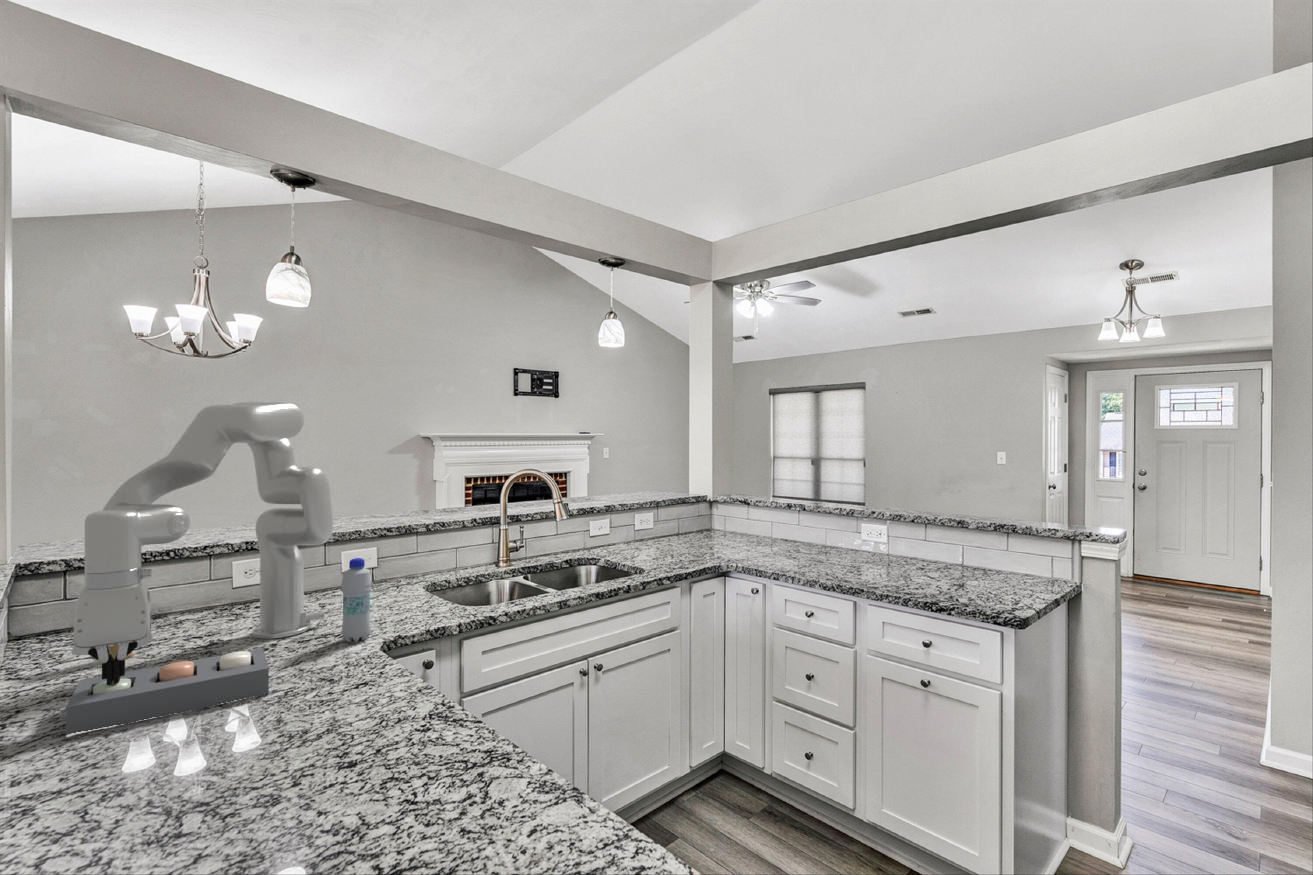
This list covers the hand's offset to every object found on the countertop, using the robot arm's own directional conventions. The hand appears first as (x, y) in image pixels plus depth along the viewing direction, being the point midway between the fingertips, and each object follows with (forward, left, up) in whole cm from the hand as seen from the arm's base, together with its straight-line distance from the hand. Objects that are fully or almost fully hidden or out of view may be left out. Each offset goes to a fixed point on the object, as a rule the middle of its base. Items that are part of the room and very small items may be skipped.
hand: (113, 681), depth 107 cm
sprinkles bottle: (+2, -36, -6) cm, 36 cm away
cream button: (-18, 0, -3) cm, 18 cm away
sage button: (0, 0, -4) cm, 4 cm away
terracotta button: (-9, 0, -3) cm, 9 cm away
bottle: (-43, -18, -6) cm, 47 cm away
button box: (-9, 0, -6) cm, 11 cm away
